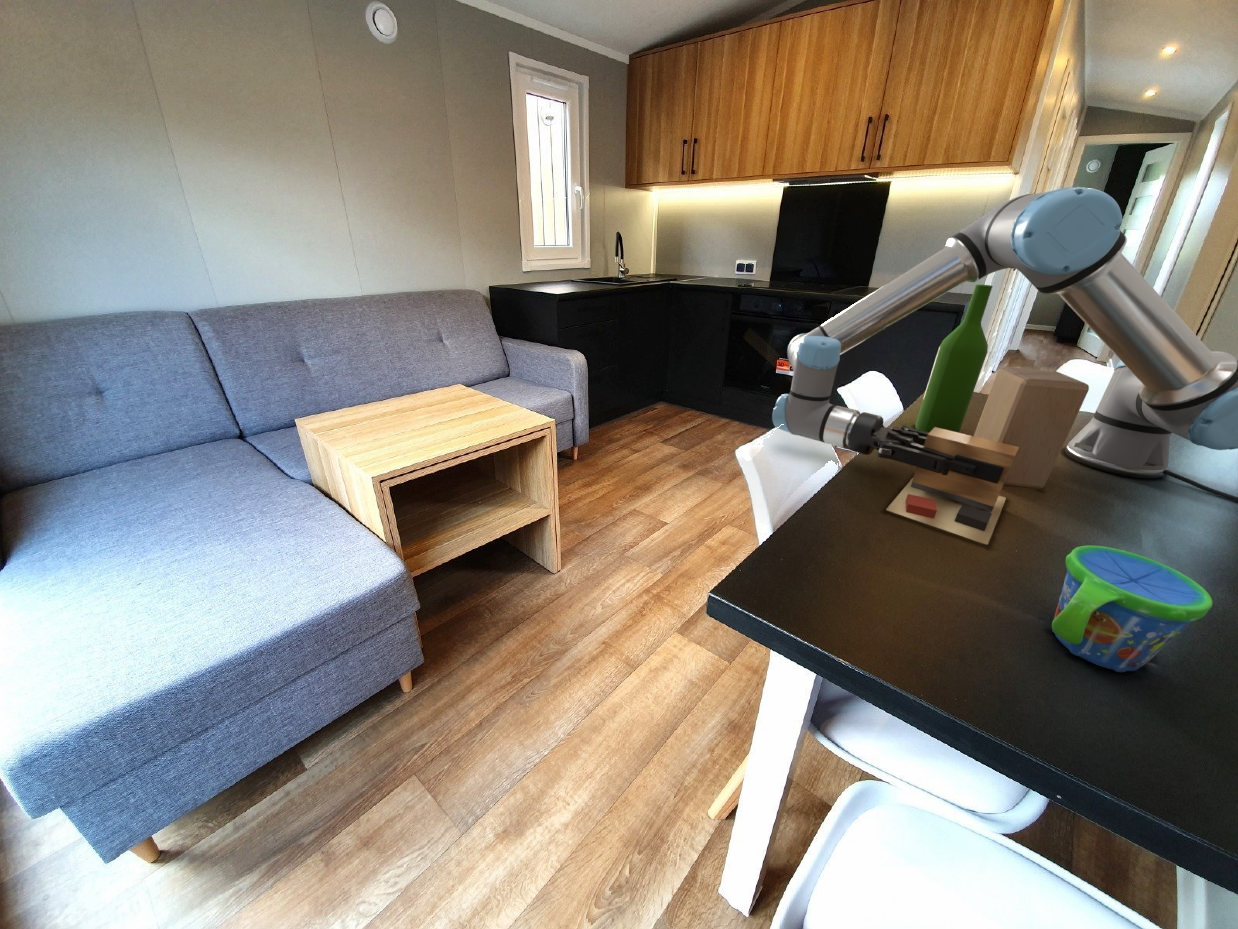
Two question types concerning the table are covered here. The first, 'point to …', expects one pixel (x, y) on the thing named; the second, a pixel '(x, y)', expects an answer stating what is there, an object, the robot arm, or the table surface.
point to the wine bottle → (956, 370)
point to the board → (947, 514)
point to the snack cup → (1123, 607)
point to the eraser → (960, 484)
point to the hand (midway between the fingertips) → (1003, 469)
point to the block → (1031, 419)
